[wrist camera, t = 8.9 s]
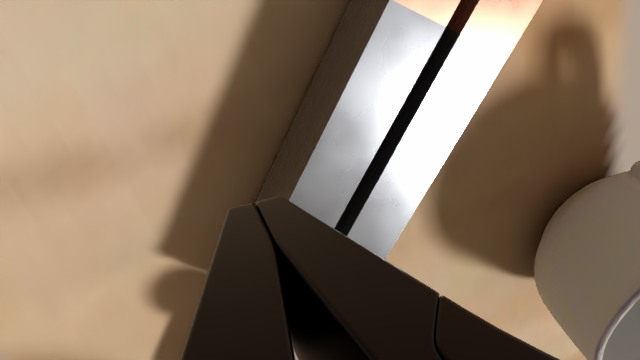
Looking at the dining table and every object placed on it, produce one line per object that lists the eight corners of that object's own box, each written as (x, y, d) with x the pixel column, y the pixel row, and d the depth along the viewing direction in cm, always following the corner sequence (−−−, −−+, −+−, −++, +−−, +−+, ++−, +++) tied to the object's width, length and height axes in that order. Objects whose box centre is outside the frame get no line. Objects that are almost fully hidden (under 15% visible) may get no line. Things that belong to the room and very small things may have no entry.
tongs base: (274, 370, 29) (293, 436, 26) (180, 365, 26) (188, 437, 23) (504, -38, 20) (576, -16, 17) (398, -104, 18) (460, -93, 15)
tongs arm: (265, 286, 25) (279, 327, 23) (218, 280, 24) (227, 321, 22) (452, -73, 19) (495, -62, 16) (400, -105, 17) (438, -99, 15)
